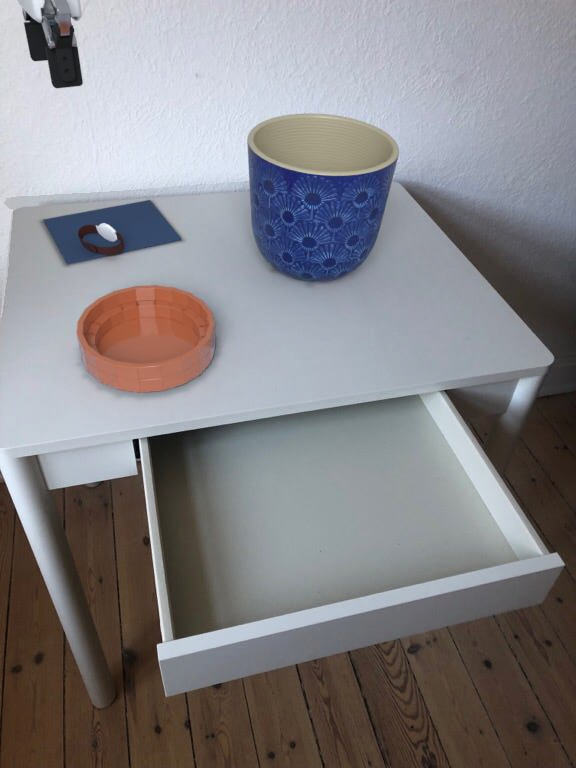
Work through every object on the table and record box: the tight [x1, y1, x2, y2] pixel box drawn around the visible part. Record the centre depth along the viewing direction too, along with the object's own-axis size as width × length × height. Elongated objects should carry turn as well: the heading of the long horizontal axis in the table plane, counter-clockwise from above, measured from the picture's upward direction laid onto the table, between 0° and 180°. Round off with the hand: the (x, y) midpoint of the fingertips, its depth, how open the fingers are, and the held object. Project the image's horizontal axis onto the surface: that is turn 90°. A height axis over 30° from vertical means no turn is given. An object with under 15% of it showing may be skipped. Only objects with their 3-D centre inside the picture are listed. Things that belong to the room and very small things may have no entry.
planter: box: [246, 112, 400, 282], centre depth 93 cm, size 21×21×19 cm
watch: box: [78, 223, 125, 256], centre depth 96 cm, size 8×5×4 cm, turn 65°
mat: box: [43, 199, 182, 265], centre depth 102 cm, size 18×14×1 cm
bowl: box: [76, 284, 216, 393], centre depth 79 cm, size 16×16×4 cm
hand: (56, 72), depth 72 cm, fingers open, 9 cm apart
